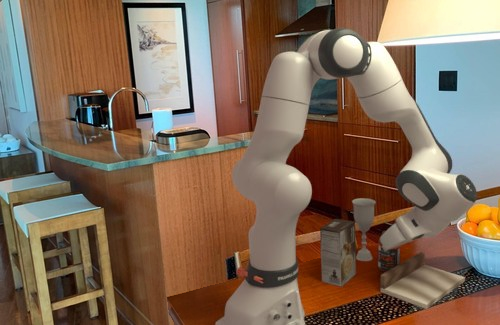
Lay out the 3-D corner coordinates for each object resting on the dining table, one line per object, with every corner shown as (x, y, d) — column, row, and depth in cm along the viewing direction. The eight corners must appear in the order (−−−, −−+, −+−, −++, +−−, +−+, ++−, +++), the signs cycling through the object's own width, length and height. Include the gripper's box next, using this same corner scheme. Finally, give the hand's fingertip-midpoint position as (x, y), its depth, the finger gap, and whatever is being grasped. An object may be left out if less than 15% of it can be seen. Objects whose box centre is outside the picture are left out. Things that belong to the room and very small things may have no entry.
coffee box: (336, 269, 142) (335, 217, 139) (356, 274, 138) (356, 221, 135) (321, 282, 135) (319, 227, 132) (341, 287, 131) (341, 231, 128)
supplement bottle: (377, 273, 138) (377, 235, 136) (378, 264, 144) (378, 228, 142) (399, 274, 137) (399, 237, 134) (399, 265, 142) (400, 229, 140)
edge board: (426, 309, 118) (426, 291, 117) (380, 291, 128) (380, 275, 127) (464, 281, 131) (465, 264, 130) (420, 267, 140) (420, 251, 139)
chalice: (347, 256, 151) (347, 200, 147) (365, 251, 154) (365, 196, 150) (362, 264, 144) (362, 206, 140) (380, 259, 147) (380, 202, 143)
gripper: (444, 201, 133) (414, 225, 143) (393, 218, 122) (365, 243, 132) (458, 221, 130) (426, 244, 140) (407, 240, 120) (377, 264, 130)
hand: (396, 244), depth 136 cm, fingers open, 8 cm apart
